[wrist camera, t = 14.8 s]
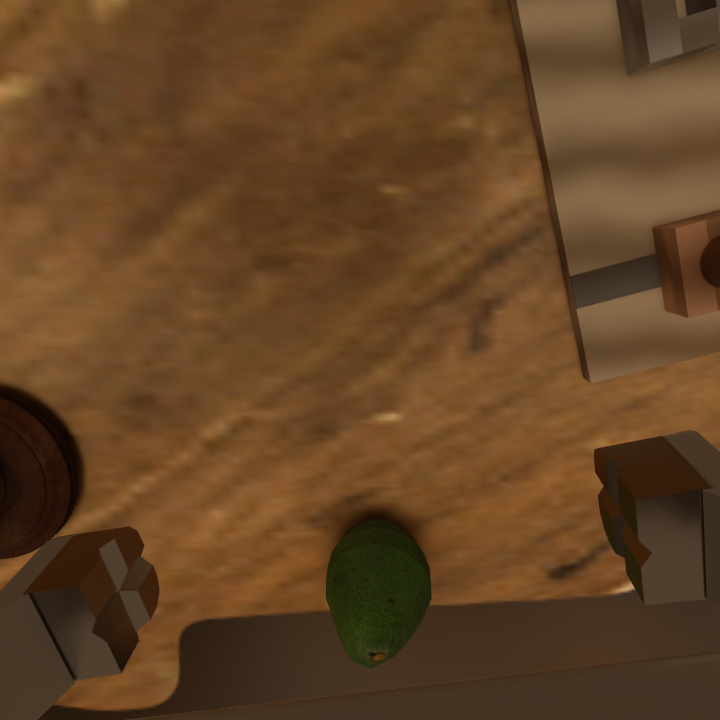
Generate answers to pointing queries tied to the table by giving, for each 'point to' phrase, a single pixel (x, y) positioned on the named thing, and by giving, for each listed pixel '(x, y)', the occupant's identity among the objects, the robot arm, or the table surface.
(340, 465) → the table surface
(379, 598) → the avocado
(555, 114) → the subfloor panel
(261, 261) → the table surface
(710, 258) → the brown wooden peg
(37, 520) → the scroll
